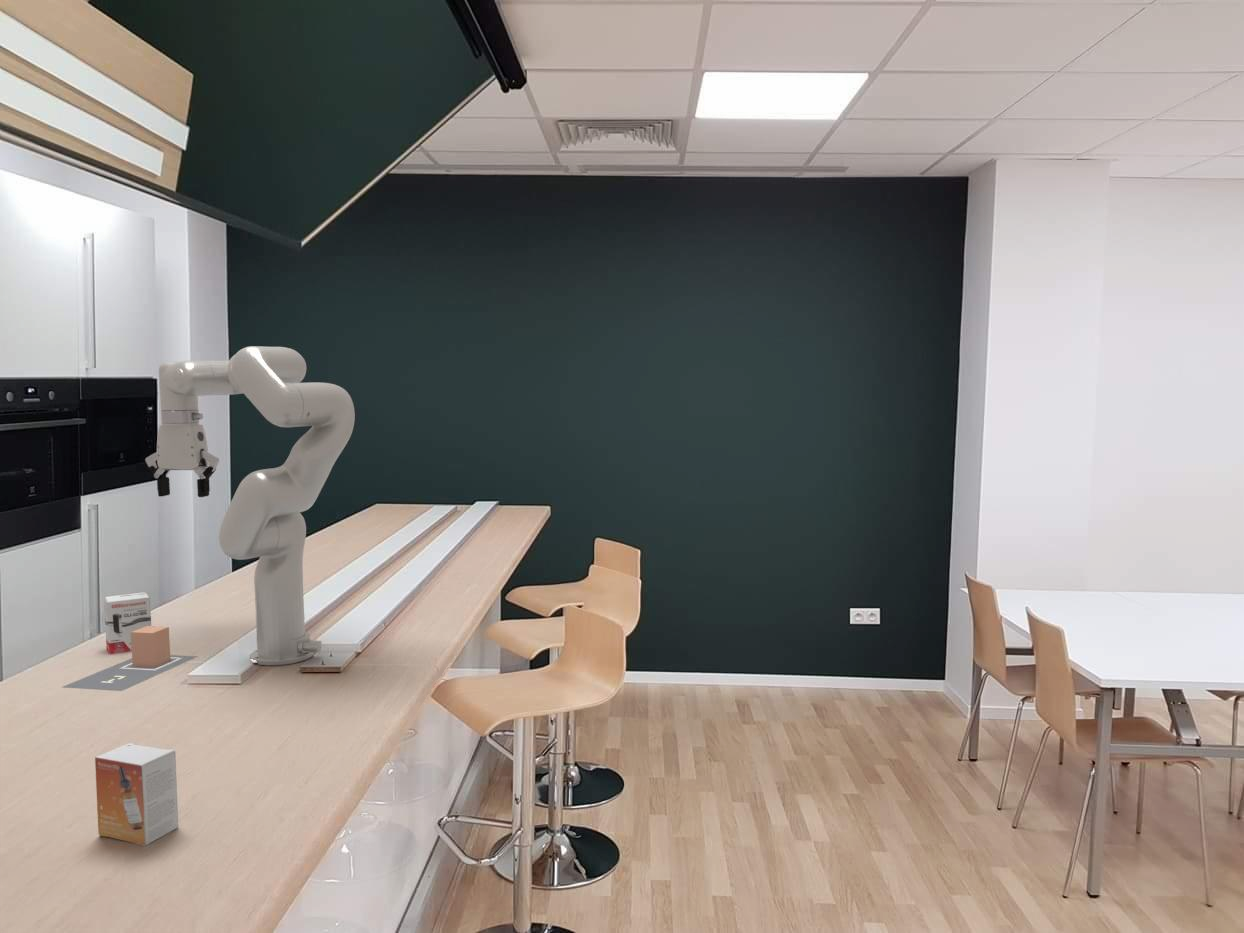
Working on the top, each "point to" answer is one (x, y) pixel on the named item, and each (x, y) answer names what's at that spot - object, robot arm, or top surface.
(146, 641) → the block
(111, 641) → the ink box
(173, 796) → the small box
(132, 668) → the mat
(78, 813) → the top surface
